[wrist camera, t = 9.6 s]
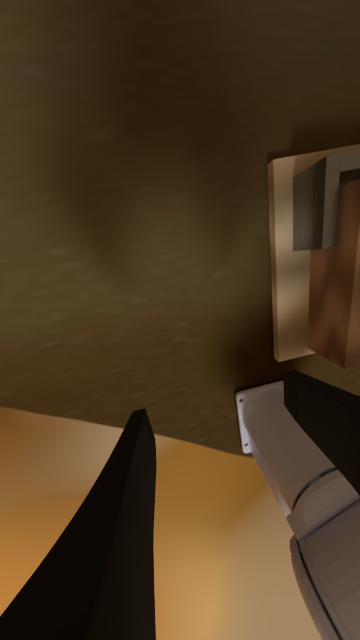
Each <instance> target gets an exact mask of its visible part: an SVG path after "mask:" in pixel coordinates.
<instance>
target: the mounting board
mask: <svg viewBox="0 0 360 640" xmlns="http://www.w3.org/2000/svg"><path fill="white" fill-rule="evenodd" d="M356 150H360V144H357V145H351V146H346V147H340V148H335V149H329V150H323V151H318V152H312V153H307V154H301V155H296V156H290V157H285V158H279V159H274V160H272V161H271V162H270V163H269V164H268V165H267V175H268V202H269V229H270V256H271V283H272V310H273V337H274V359H276V360H277V361H278V362H281V361H285V360H289V359H293V358H297V357H301V356H305V355H309V354H313V353H315V352H314V351H312V350H310V349H308V318H309V284H310V250H304V251H293V177H294V176H296V175H297V174H299V173H301V172H302V171H304V170H305V169H307V168H308V167H310V166H312V165H313V164H315V163H316V162H318V161H319V160H321V159H323V158H324V157H326V156H329V155H334V154H340V153H345V152H351V151H356ZM357 180H358V179H357ZM353 181H356V180H352V181H347V182H342V183H339V187H342V186H344V185H346V184H349V183H351V182H353Z"/></svg>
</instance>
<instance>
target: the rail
mask: <svg viewBox="0 0 360 640" xmlns="http://www.w3.org/2000/svg"><path fill="white" fill-rule="evenodd" d="M308 349H310V350H312V351H314V352H315V353H317V354H319V355H321V356H323V357H324V358H326V359H328V360H330V361H332V362H334V363H335V364H337V365H339V366H341V367H343V368H344V369H345V368H349V367H353V366H357V365H360V179H358V180H356V181H353V182H351V183H349V184H346V185H344V186H342V187H339V193H338V207H337V222H336V237H335V246H333V247H328V248H323V249H314V250H310V284H309V318H308Z"/></svg>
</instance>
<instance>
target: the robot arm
mask: <svg viewBox="0 0 360 640" xmlns="http://www.w3.org/2000/svg"><path fill="white" fill-rule="evenodd" d="M235 397H236V405H237V413H238V421H239V429H240V437H241V445H242V450H243V452H244V453H249V452H252V454H253V456H254V458H255V459H256V462H257V464H258V466H259V468H260V470H261V472H262V474H263V476H264V478H265V480H266V481H267V483H268V485H269V487H270V489H271V491H272V493H273V495H274V497H275V499H276V501H277V503H278V505H279V506H280V508H281V510H282V511H283V512H284V514H285V515H286V516H287V517H286V519H287V521H288V523H289V525H290V527H291V529H292V531H293V533H294V536H292V538H291V539H290V551H291V560H292V566H293V570H294V574H295V577H296V581H297V583H298V586H299V589H300V592H301V594H302V597H303V599H304V601H305V604H306V606H307V609H308V611H309V613H310V615H311V618H312V620H313V622H314V624H315V626H316V628H317V630H318V632H319V634H320V636H321V638H322V640H360V396H357V395H354V394H352V393H349V392H347V391H344V390H342V389H339V388H337V387H335V386H332V385H330V384H327V383H325V382H322V381H320V380H318V379H315V378H313V377H310V376H308V375H305V374H303V373H300V372H298V371H295V370H294V371H290V372H286V373H283V380H282V381H279V382H275V383H271V384H267V385H263V386H259V387H255V388H251V389H247V390H244V391H240V392H237V393H236V396H235ZM240 399H241V400H240ZM155 485H156V445H155V437H154V434H153V431H152V428H151V425H150V421H149V418H148V415H147V412H146V409H141V410H137V411H133V412H132V414H131V416H130V418H129V420H128V422H127V424H126V426H125V428H124V430H123V432H122V434H121V436H120V438H119V440H118V442H117V444H116V446H115V448H114V450H113V452H112V454H111V455H110V457H109V459H108V461H107V463H106V464H105V466H104V468H103V470H102V472H101V473H100V475H99V477H98V478H97V480H96V482H95V483H94V485H93V487H92V488H91V490H90V492H89V493H88V495H87V497H86V498H85V500H84V502H83V503H82V504H81V506H80V507H79V509H78V511H77V512H76V514H75V515H74V517H73V518H72V520H71V521H70V523H69V524H68V526H67V527H66V529H65V530H64V531H63V533H62V534H61V536H60V537H59V539H58V540H57V541H56V543H55V544H54V546H53V547H52V549H51V550H50V551H49V553H48V554H47V556H46V557H45V558H44V560H43V561H42V562H41V564H40V565H39V567H38V568H37V569H36V571H35V572H34V573H33V575H32V576H31V577H30V578H29V580H28V581H27V582H26V584H25V585H24V586H23V588H22V589H21V590H20V592H19V593H18V594H17V595H16V597H15V598H14V599H13V601H12V602H11V603H10V605H9V606H8V607H7V609H6V610H5V611H4V612H3V614H2V615H1V616H0V640H156V632H155V598H154V557H153V529H154V507H155Z"/></svg>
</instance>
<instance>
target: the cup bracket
mask: <svg viewBox="0 0 360 640" xmlns="http://www.w3.org/2000/svg"><path fill="white" fill-rule="evenodd" d="M357 179H360V150H356V151H351V152H345V153H340V154H334V155H329V156H326V157H324V158H323V159H321V160H319V161H318V162H316V163H315V164H313V165H312V166H310V167H308V168H307V169H305V170H304V171H302V172H301V173H299V174H297V175H296V176H294V177H293V251H304V250H314V249H323V248H328V247H333V246H335V237H336V222H337V207H338V193H339V183H342V182H347V181H352V180H357Z"/></svg>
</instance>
